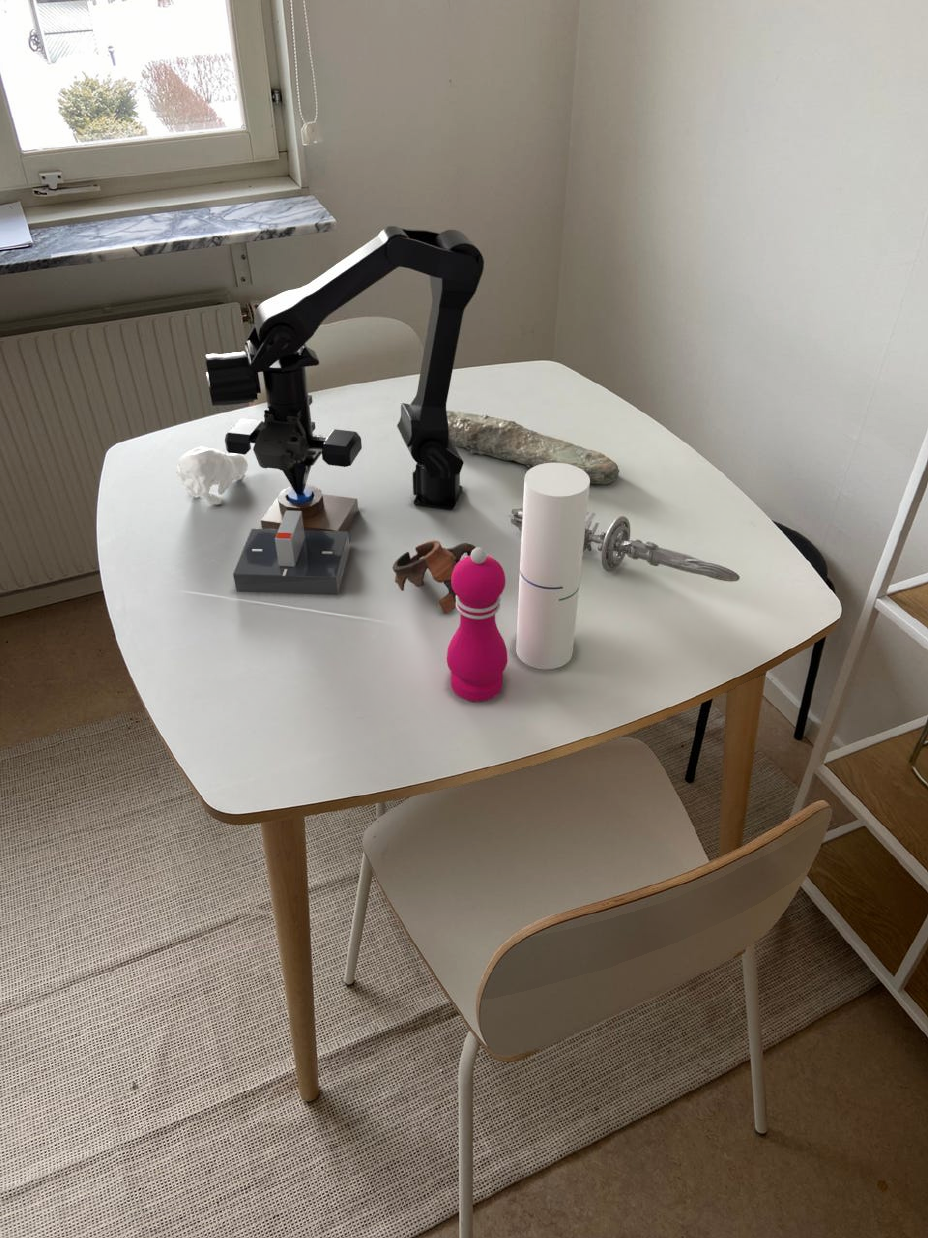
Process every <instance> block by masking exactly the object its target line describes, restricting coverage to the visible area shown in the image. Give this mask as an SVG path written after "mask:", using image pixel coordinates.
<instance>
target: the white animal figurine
mask: <svg viewBox="0 0 928 1238" xmlns="http://www.w3.org/2000/svg"><path fill="white" fill-rule="evenodd" d="M177 462H178V463H177V467H176V469H175V473H176V475H177V476H178V478H179V481H180V484H181V485H182V486H183V488H184V490H185V492H186V493H187V494H188V495H190V496H191V497H192V498H196V499H197V498H200V499H202V500H203V501H205V502H206V503H208V504H210V505H216V506H217V505H221V504H222V502H223V501H222V500H221V498H220V497H218V496H217V495H215V494H214V493H210V489H211V487H212V486H214V485H215V486H216V485H218V487H217V492H218V494H219V495H223V494H224V493H225V492H226V490H227V489H228V488H229V487H230V485H231V483H232V482H233V481H234V482H237V481H242V483H244V480H245V478H246V476H247V474H246V473H247V471H248V468H249V464H248V461H247V458H246V457H245V456H244V455H243V454H235V453H225V452H223V451H220V450H219V449H216V448H211V447H206V446H199V447H195V448H193V449H190V450H189V451H187V452H186V453H185V454H183V455H182V456H180V458H179V459H178V461H177Z"/></svg>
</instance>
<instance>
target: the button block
mask: <svg viewBox="0 0 928 1238" xmlns="http://www.w3.org/2000/svg"><path fill="white" fill-rule="evenodd" d="M305 487H306V488H309V489H310V490H311V491H312V496H313V499H312V500H311V501H309V502H307V503H301V504H296V503H291V502H289V501H288V492H289V491H290V490H291V489H293V488H292V486H291V485H290V486H289V487H286V488H283V489H282V490H281V491H280V492H279V493H278V495H277V497H276V499H275V500H274V501H273V503H272V504H271V505H270V506H269V508H268V509H267V511H266V512H265V514H264V515H263V516H262V518H261V519H260V526H261V529H279V527H280V525H281V522H282V520H283V517H284V514H285V512H286V510H287V511H302V519H303V526H304V530H313V531H344V532H348V529H349V527H350V526H351V524H352V523H353V521H354V519H355V517H356V515H358V512H359V503H358V502H359V501H358V498H356V497H347V496H341V495H340V496H339V495H332V494H325V493H322V490H321V489H320V488H318V487H316V486H314V485H313V484H312V485H311V484H306V486H305Z"/></svg>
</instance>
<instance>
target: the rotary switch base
mask: <svg viewBox="0 0 928 1238" xmlns="http://www.w3.org/2000/svg"><path fill="white" fill-rule="evenodd" d="M278 530H279V529H262V528H251V530H250V532H249V533H248V537H247V540H246V542H245V544H244V547H243V548H242V551H241V554H240V556H239V558H238V561H237V563H236V565H235V568H234V571H233V573H232V576H233V581H234V587H235V591H236V592H241V593H242V592H243V593H246V592H249V593H271V594H273V593H275V594H299V595H300V594H301V595H307V594H308V595H333V596H338V595H339V592H340V589H341V584H342V580H343V576H344V572H345V570H346V565H347V561H348V557H349V553H350V549H351V547H350V546H351V545H350V536H349V534H350V533H349V531H346V532H344V531H313V530H304V534H305V539H304V542H303V545H302V548H301V550H300V553H299V556H298V559H297V562H296V565H295V567H289V566H279V562H278V556H277V549H276V543H275V538H276V535H277V532H278Z"/></svg>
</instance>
